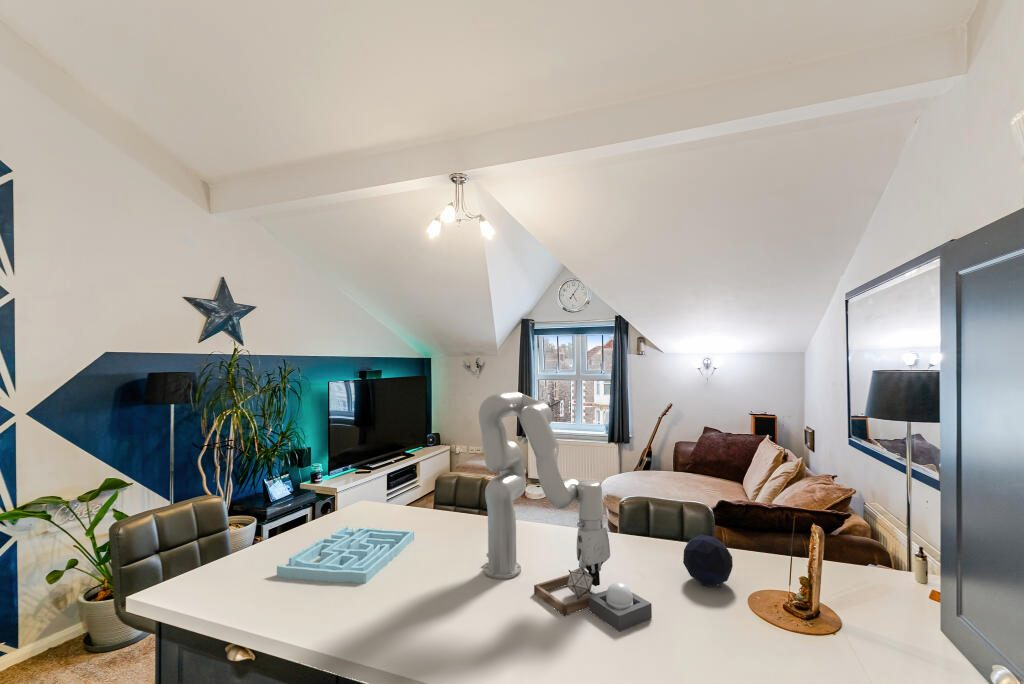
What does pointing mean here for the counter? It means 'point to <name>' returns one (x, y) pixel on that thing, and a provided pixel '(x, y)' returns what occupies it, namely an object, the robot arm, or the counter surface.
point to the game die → (580, 582)
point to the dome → (619, 596)
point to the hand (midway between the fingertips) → (594, 584)
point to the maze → (347, 555)
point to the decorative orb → (707, 560)
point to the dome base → (620, 611)
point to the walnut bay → (554, 602)
